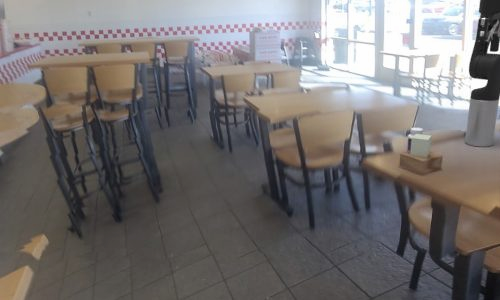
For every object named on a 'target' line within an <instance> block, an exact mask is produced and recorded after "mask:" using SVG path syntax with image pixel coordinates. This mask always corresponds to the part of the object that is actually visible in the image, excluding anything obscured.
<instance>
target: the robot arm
mask: <svg viewBox="0 0 500 300" xmlns="http://www.w3.org/2000/svg"><path fill="white" fill-rule="evenodd" d="M478 13H479V14H480V15H479V18H478V21H477V29H476V34H475V35H476V37H475V41H474V45H473V48H472V51H471V54H470V55H471V56H470V60H469V63H468V64H469V65H468V74H469V77H471V78H472V79H475V80H483V81H487V82H486V85H485V86H482V87H479V88H475V89H472V90H471V92H470V97H469V98H470V99H469V107H468V114H467V115H468V116H467V124H466V130H465V131H466V132H465V136H464V137H465V138H464V143H465V144H466V145H469V146H474V147H480V148H481V147H483V148H485V147H491V146H492V145H493V144H494V136H495V132H496V126H497V125H496V123H497V119H498V118H497V116H498V110H499V102H500V53H497V52H498V51H499V50H500V49H499V48H500V0H479V8H478ZM488 50H489V52H492V53H488Z"/></svg>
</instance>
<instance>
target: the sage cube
mask: <svg viewBox="0 0 500 300" xmlns="http://www.w3.org/2000/svg"><path fill="white" fill-rule="evenodd" d="M431 144H432V135H429V134H423V133H422V134H415V135H414V136H413V137H412V139H411V151H410V155H411V156H418V157H424V158H427V156H428V155H429V154H430V152H431V146H432V145H431Z"/></svg>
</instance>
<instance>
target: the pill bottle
mask: <svg viewBox="0 0 500 300" xmlns="http://www.w3.org/2000/svg"><path fill="white" fill-rule="evenodd" d="M409 132H410V133H409V134H408V135H407V142H406V143H407V145H406V147H407V148H406V152H408V151H411V139H412V137H413V136H414V135H415V134H422V135H423V133H424V129H423V128H421V127H411V128H410V131H409Z"/></svg>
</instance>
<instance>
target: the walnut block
mask: <svg viewBox="0 0 500 300" xmlns="http://www.w3.org/2000/svg"><path fill="white" fill-rule="evenodd" d="M399 155H400V156H399V168H401V167H402V169H404V170H406V169H407V171H408V172H409V171H410V172H412V173H414V174H416V175H420V176H423V175H426V174H429V173H430V174H431V173H433V172H436V171H440V170H442V163H443V155H441V154H438V153H435V152H432V151H430V154H429V155H428V156H427V158H424V157H418V156H411V155H410V151H408V152H407V151H405V152H401V153H400V154H399Z"/></svg>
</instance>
